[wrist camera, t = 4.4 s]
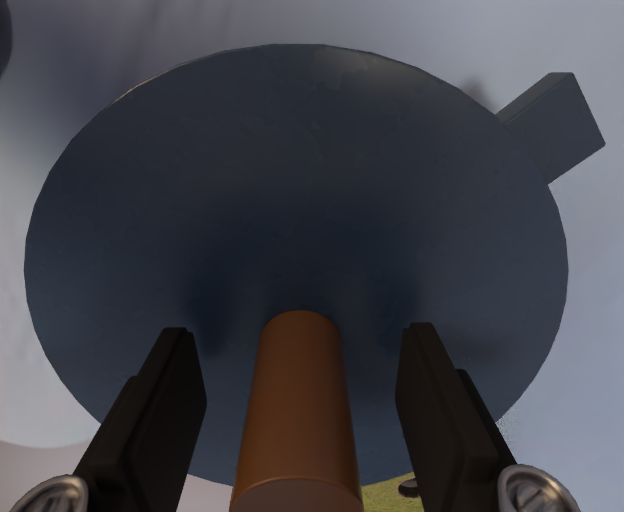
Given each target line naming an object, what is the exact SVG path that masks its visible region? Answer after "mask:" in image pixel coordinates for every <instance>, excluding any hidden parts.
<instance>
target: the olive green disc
mask: <svg viewBox="0 0 624 512" xmlns="http://www.w3.org/2000/svg"><path fill="white" fill-rule="evenodd" d="M361 490H362V498H363V505H364V512H424V509H423V505H422V501H421V498H420V494H419V490H418V487H417V483H416V479H415V476H414V472H411V473H408V474H405V475H402V476H399V477H396V478H394V479H391V480H387V481H383V482H379V483H375V484H371V485H367V486H363V487H361Z"/></svg>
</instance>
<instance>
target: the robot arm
mask: <svg viewBox="0 0 624 512" xmlns="http://www.w3.org/2000/svg"><path fill="white" fill-rule="evenodd" d="M395 405H396V409H397V413H398V416H399V420H400V424H401V427H402V431H403V435H404V439H405V442H406V446H407V450H408V453H409V457H410V461H411V464H412V468H413V472H414V476H415V479H416V483H417V487H418V490H419V494H420V498H421V501H422V505H423V509H424V512H581V511H580V509H579V507H578V505H577V502H576V500H575V499H574V498H573V496H572V495H571V494H570V492H569V491H568V489H567V488H565V487H564V486H563V485H562V484H561V483H560V482H559V481H558V480H557V479H556V478H554V477H553V476H551V475H550V474H548V473H547V472H545V471H543V470H541V469H538V468H536V467H533V466H530V465H524V464H517V462H516V461H515V459H514V457H513V455H512V453H511V451H510V450H509V448H508V446H507V444H506V442H505V440H504V438H503V437H502V435H501V433H500V431H499V429H498V427H497V426H496V424H495V422H494V420H493V418H492V416H491V414H490V413H489V411H488V409H487V407H486V405H485V403H484V402H483V400H482V398H481V396H480V394H479V392H478V390H477V389H476V387H475V385H474V383H473V381H472V379H471V378H470V376H469V374H468V373H467V371H466V370H464V369H455V367H454V365H453V363H452V361H451V359H450V357H449V355H448V353H447V351H446V349H445V347H444V345H443V343H442V341H441V339H440V337H439V335H438V333H437V332H436V330H435V328H434V326H433V324H432V323H431V322H418V323H411V324H410V326H409V328H404V329H403V335H402V342H401V350H400V357H399V365H398V373H397V380H396V388H395ZM206 408H207V396H206V391H205V386H204V382H203V377H202V372H201V367H200V362H199V358H198V353H197V348H196V343H195V338H194V334H193V333H192V332H188V331H187V329H186V328H185V327H165V328H164V329H163V330H162V331H161V333H160V335H159V337H158V338H157V340H156V342H155V344H154V346H153V347H152V349H151V351H150V353H149V355H148V356H147V358H146V360H145V362H144V363H143V365H142V367H141V369H140V371H139V372H138V374H137V375H136V376H131V377H130V378H129V379H128V380H127V382H126V383H125V385H124V386H123V388H122V390H121V392H120V393H119V395H118V397H117V398H116V400H115V402H114V404H113V405H112V407H111V409H110V410H109V412H108V414H107V416H106V417H105V419H104V421H103V422H102V424H101V426H100V428H99V429H98V431H97V433H96V434H95V436H94V438H93V440H92V441H91V443H90V445H89V447H88V448H87V450H86V452H85V453H84V455H83V457H82V458H81V460H80V462H79V464H78V465H77V467H76V469H75V471H74V472H73V474H72V475H68V474H65V475H61V476H56V477H53V478H51V479H48V480H46V481H44V482H42V483H40V484H38V485H37V486H36V487H34V488H32V489H31V490H30V491H28V492H27V493H26V494H25V495H24V496H23V497H22V498H21V499H19V500H18V501H17V502H16V504H15V505H14V506H13V508H12V509H11V510H10V511H9V512H176V510H177V507H178V503H179V500H180V497H181V493H182V490H183V486H184V483H185V480H186V476H187V473H188V470H189V466H190V463H191V459H192V456H193V453H194V449H195V446H196V443H197V439H198V436H199V432H200V429H201V426H202V422H203V419H204V416H205V412H206Z"/></svg>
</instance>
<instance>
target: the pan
mask: <svg viewBox="0 0 624 512" xmlns="http://www.w3.org/2000/svg"><path fill="white" fill-rule="evenodd" d="M495 116H496V117H497V118H498V119H499V121H500V122H501V123H502V124H503V125H504V126H505V127H506V128H507V129H508V130H509V131H510V132H511V133H512V134H513V135H514V136H515V137H516V138H517V139H518V140H519V141H520V142H521V143H522V145H523V146H524V148H525V149H526V151H527V152H528V153H529V155H530V156H531V158H532V159H533V161H534V162H535V164H536V165H537V167H538V168H539V170H540V171H541V173H542V174H543V176H544V178H545V180H546V183H547V185H548V184H549V183H551V182H552V181H554V180H555V179H557V178H558V177H559V176H561V175H562V174H564V173H565V172H567V171H568V170H570V169H571V168H573V167H574V166H576V165H577V164H579V163H580V162H582V161H583V160H585V159H586V158H587V157H589V156H590V155H592V154H593V153H595V152H596V151H598V150H599V149H601V148H602V147H604V146H605V141H604V139H603V137H602V135H601V133H600V130H599V128H598V126H597V124H596V122H595V120H594V117H593V115H592V113H591V111H590V109H589V106H588V104H587V102H586V100H585V98H584V96H583V93H582V91H581V89H580V87H579V85H578V83H577V80H576V78H575V76H574V74H573V73H572V72H553V73H549V74H547V75H546V76H545V77H543V78H542V79H541V80H539V81H538V82H537V83H536V84H534V85H533V86H532V87H530V88H529V89H528V90H527V91H525V92H524V93H523V94H521V95H520V96H519V97H517V98H516V99H515V100H514V101H512V102H511V103H510V104H508V105H507V106H506V107H505V108H503V109H502V110H501V111H499V112H498V113H497V114H495Z"/></svg>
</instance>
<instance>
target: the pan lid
mask: <svg viewBox="0 0 624 512" xmlns="http://www.w3.org/2000/svg"><path fill="white" fill-rule="evenodd" d="M24 277H25V287H26V297H27V303H28V307H29V311H30V314H31V318H32V322H33V326H34V329H35V332H36V334H37V336H38V339H39V341H40V343H41V346H42V348H43V350H44V352H45V355H46V357H47V358H48V360H49V362H50V363H51V365H52V367H53V368H54V370H55V371H56V373H57V375H58V376H59V378H60V380H61V381H62V382H63V384H64V385H65V386H66V387H67V389H68V390H69V391H70V392H71V394H72V395H73V396H74V397H75V399H76V400H77V401H78V402H79V403H80V404H81V405H82V406H83V407H84V408H85V409H86V410H87V411H88V412H89V413H90V414H91V415H92V416H93V417H94V418H95V419H96V420H97V421H98V422H99V423H101V424H102V422H103V421H104V419H105V417H106V416H107V414H108V412H109V410H110V409H111V407H112V405H113V404H114V402H115V400H116V398H117V397H118V395H119V393H120V392H121V390H122V388H123V386H124V385H125V383H126V382H127V380H128V379H129V378H130V377H131V376H136V375H137V374H138V372H139V371H140V369H141V367H142V365H143V363H144V362H145V360H146V358H147V356H148V355H149V353H150V351H151V349H152V347H153V346H154V344H155V342H156V340H157V338H158V337H159V335H160V333H161V331H162V330H163V329H164V328H165V327H185V328H186V329H187V331H188V332H192V333H193V334H194V338H195V343H196V348H197V353H198V358H199V362H200V367H201V372H202V377H203V382H204V386H205V391H206V396H207V408H206V412H205V416H204V419H203V422H202V426H201V429H200V432H199V436H198V439H197V443H196V446H195V449H194V453H193V456H192V459H191V463H190V466H189V470H188V473H187V474H190V475H193V476H197V477H199V478H203V479H206V480H209V481H212V482H217V483H221V484H225V485H229V486H233V489H232V495H231V501H230V506H229V512H364V505H363V498H362V490H361V487H363V486H367V485H371V484H375V483H379V482H383V481H387V480H391V479H394V478H396V477H399V476H402V475H405V474H408V473H411V472H413V468H412V464H411V461H410V457H409V453H408V450H407V446H406V442H405V439H404V435H403V431H402V427H401V424H400V420H399V416H398V413H397V409H396V405H395V388H396V380H397V373H398V365H399V357H400V350H401V342H402V335H403V329H404V328H409V326H410V324H411V323H418V322H431V323H432V324H433V326H434V328H435V330H436V332H437V333H438V335H439V337H440V339H441V341H442V343H443V345H444V347H445V349H446V351H447V353H448V355H449V357H450V359H451V361H452V363H453V365H454V367H455V369H464V370H466V371H467V373H468V374H469V376H470V378H471V379H472V381H473V383H474V385H475V387H476V389H477V390H478V392H479V394H480V396H481V398H482V400H483V402H484V403H485V405H486V407H487V409H488V411H489V413H490V414H491V416H492V418H493V420H494V422H496V421H498V420H499V419H500V418H501V417H502V416H503V415H504V414H505V413H506V412H507V411H508V410H509V409H510V408H511V407H512V406H513V404H514V403H515V402H516V401H517V400H518V399H519V398H520V397H521V395H522V394H523V393H524V391H525V390H526V389H527V388H528V386H529V385H530V384H531V382H532V381H533V380H534V378H535V377H536V375H537V373H538V372H539V370H540V368H541V366H542V365H543V363H544V361H545V359H546V358H547V356H548V354H549V352H550V349H551V347H552V344H553V342H554V340H555V337H556V335H557V332H558V330H559V327H560V323H561V318H562V314H563V310H564V306H565V302H566V294H567V282H568V259H567V246H566V238H565V234H564V230H563V226H562V222H561V218H560V214H559V211H558V207H557V205H556V202H555V200H554V198H553V196H552V194H551V191H550V189H549V187H548V185H547V183H546V180H545V178H544V176H543V174H542V173H541V171H540V170H539V168H538V167H537V165H536V164H535V162H534V161H533V159H532V158H531V156H530V155H529V153H528V152H527V151H526V149H525V148H524V146H523V145H522V143H521V142H520V141H519V140H518V139H517V138H516V137H515V136H514V135H513V134H512V133H511V132H510V131H509V130H508V129H507V128H506V127H505V126H504V125H503V124H502V123H501V122H500V121H499V119H498V118H497V117H496V116H495V115H494V114H492V113H491V112H490V111H488V110H487V109H486V108H484V107H483V106H482V105H480V104H479V103H478V102H476V101H475V100H473V99H472V98H471V97H469V96H468V95H467V94H465V93H464V92H463V91H461V90H460V89H459V88H457V87H455V86H453V85H451V84H449V83H447V82H445V81H443V80H441V79H439V78H437V77H435V76H433V75H431V74H429V73H427V72H425V71H424V70H422V69H420V68H418V67H415V66H412V65H409V64H406V63H402V62H399V61H396V60H393V59H390V58H387V57H384V56H381V55H378V54H375V53H372V52H366V51H360V50H354V49H348V48H342V47H336V46H330V45H324V44H268V45H261V46H254V47H247V48H240V49H233V50H226V51H222V52H218V53H215V54H212V55H209V56H205V57H202V58H199V59H195V60H192V61H189V62H186V63H182V64H179V65H176V66H174V67H172V68H170V69H168V70H166V71H164V72H162V73H160V74H158V75H156V76H154V77H152V78H150V79H148V80H146V81H144V82H142V83H140V84H138V85H136V86H134V87H133V88H132V89H130V90H129V91H127V92H126V93H124V94H123V95H122V96H120V97H119V98H117V99H116V100H115V101H113V102H112V103H110V104H109V105H108V106H106V107H105V108H103V109H102V110H101V111H100V112H99V113H98V114H97V115H96V116H95V117H94V118H93V119H92V120H91V121H90V122H89V123H88V124H87V125H86V126H85V127H84V128H83V129H82V130H81V131H80V132H79V133H78V134H77V135H76V136H75V137H74V138H73V139H72V140H71V141H70V143H69V144H68V146H67V147H66V148H65V150H64V151H63V153H62V154H61V156H60V157H59V159H58V160H57V162H56V163H55V164H54V166H53V167H52V169H51V170H50V172H49V174H48V176H47V178H46V180H45V183H44V185H43V187H42V189H41V192H40V194H39V196H38V198H37V200H36V203H35V205H34V208H33V212H32V216H31V220H30V224H29V228H28V232H27V236H26V246H25V260H24Z"/></svg>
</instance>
